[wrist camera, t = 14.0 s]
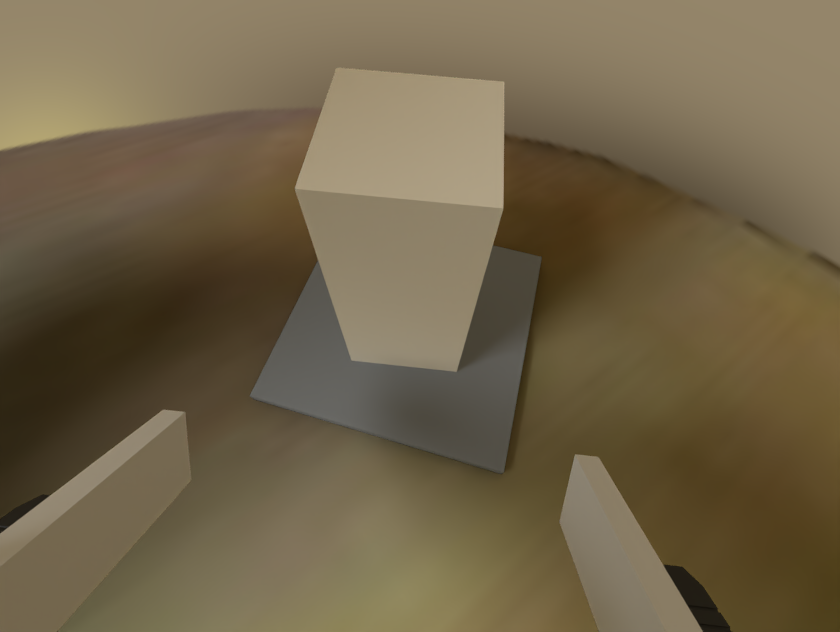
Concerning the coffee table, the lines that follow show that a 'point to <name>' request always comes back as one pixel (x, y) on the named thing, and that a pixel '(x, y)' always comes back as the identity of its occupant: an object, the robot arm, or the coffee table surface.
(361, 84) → the cream block
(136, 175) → the coffee table surface
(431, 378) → the slate mat
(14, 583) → the robot arm
